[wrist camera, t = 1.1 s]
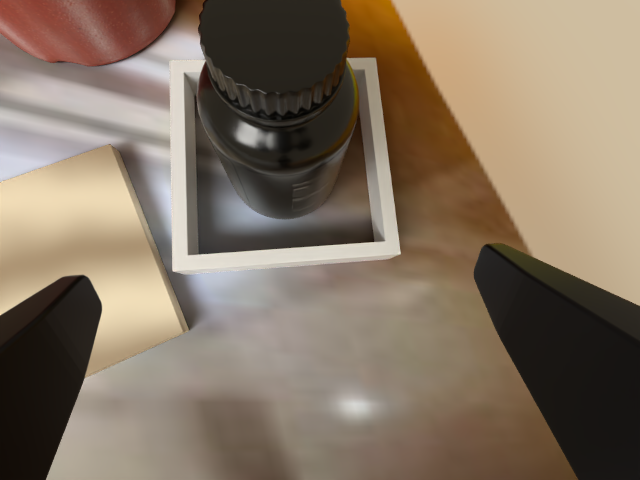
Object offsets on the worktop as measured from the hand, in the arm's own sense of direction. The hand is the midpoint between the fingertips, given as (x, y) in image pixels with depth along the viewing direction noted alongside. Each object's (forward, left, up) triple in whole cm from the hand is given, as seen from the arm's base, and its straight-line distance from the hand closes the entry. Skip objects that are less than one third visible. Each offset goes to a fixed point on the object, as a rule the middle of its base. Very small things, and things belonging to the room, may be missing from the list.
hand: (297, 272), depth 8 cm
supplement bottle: (+7, -3, -14) cm, 16 cm away
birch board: (+6, +11, -13) cm, 19 cm away
